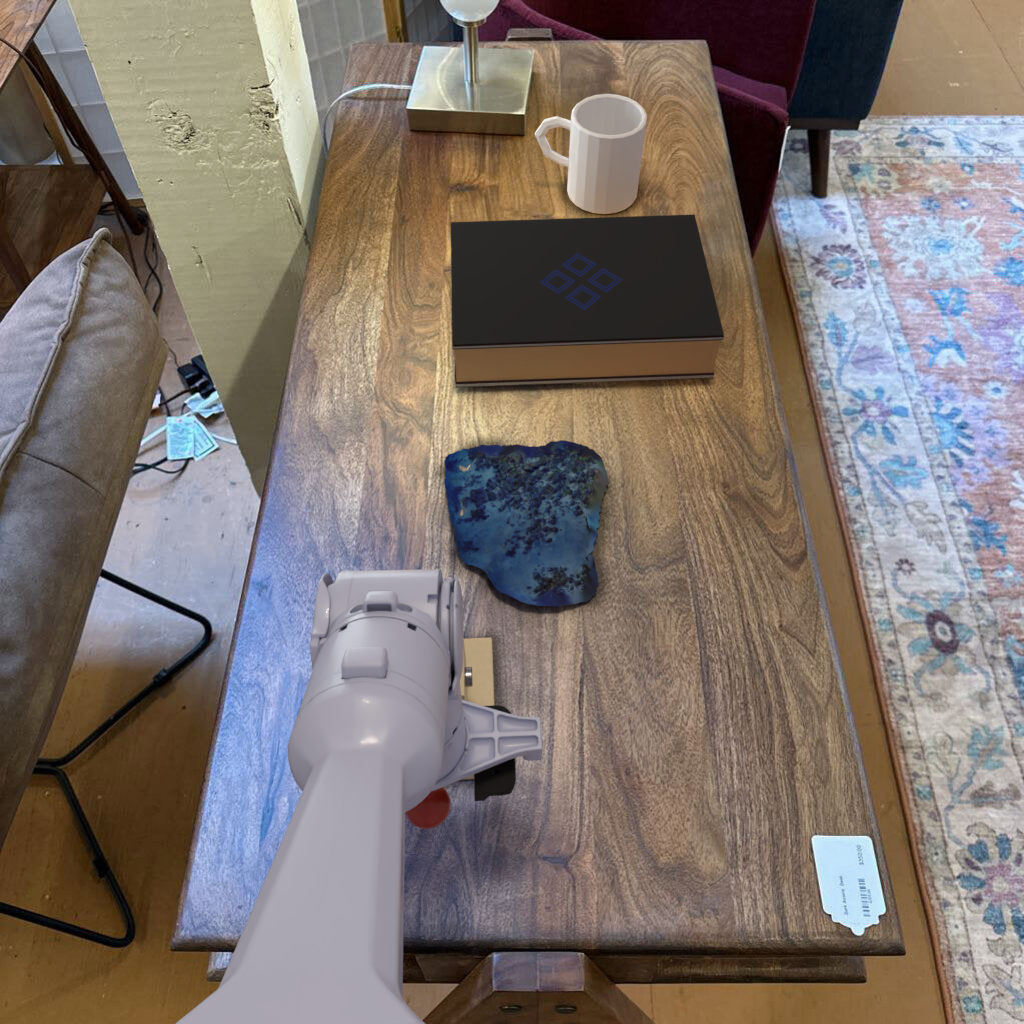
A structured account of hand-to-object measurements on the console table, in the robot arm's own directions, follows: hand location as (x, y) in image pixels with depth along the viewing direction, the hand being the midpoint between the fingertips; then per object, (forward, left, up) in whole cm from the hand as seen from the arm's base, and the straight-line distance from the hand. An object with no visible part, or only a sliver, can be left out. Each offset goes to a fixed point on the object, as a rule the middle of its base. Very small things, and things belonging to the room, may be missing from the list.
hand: (429, 788), depth 61 cm
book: (+51, -6, -7) cm, 52 cm away
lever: (+3, +1, -1) cm, 3 cm away
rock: (+26, -4, -7) cm, 27 cm away
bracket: (+8, +1, -6) cm, 10 cm away
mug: (+73, -5, -7) cm, 73 cm away
